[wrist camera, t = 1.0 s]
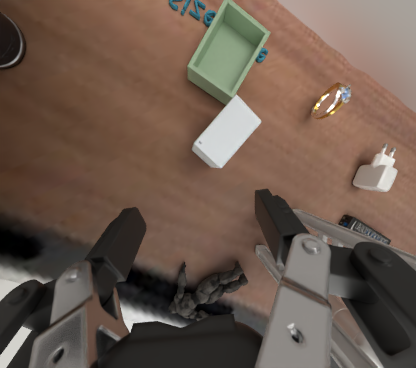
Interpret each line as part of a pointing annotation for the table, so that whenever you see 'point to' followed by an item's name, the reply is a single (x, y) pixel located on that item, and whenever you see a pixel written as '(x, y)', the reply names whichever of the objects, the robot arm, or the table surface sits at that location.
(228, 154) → the cosmetics box
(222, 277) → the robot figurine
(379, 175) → the power adapter
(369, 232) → the multiport hub
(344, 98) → the ring
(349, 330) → the plastic bottle
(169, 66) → the table surface
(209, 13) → the nameplate
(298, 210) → the stool
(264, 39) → the holder
